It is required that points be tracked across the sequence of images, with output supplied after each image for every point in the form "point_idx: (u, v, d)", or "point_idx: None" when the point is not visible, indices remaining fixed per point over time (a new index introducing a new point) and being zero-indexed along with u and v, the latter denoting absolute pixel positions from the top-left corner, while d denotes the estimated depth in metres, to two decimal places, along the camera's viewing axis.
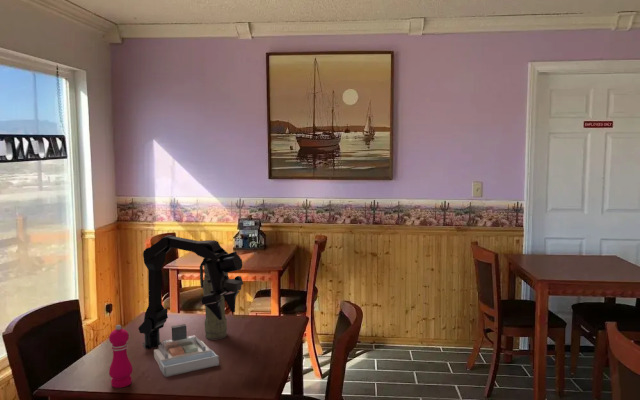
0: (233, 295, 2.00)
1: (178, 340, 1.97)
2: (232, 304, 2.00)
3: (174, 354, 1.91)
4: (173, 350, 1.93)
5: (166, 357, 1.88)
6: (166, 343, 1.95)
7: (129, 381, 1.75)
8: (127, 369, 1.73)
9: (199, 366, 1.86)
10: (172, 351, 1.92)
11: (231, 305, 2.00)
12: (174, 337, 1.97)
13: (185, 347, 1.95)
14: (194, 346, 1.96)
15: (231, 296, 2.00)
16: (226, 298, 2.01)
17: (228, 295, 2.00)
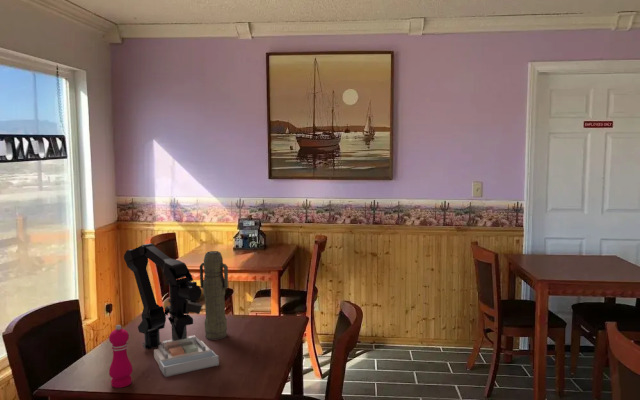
0: None
1: (178, 340, 1.97)
2: None
3: (174, 354, 1.91)
4: (173, 350, 1.93)
5: (166, 357, 1.88)
6: (166, 343, 1.95)
7: (129, 381, 1.75)
8: (127, 369, 1.73)
9: (199, 366, 1.86)
10: (172, 351, 1.92)
11: None
12: (174, 337, 1.97)
13: (185, 347, 1.95)
14: (194, 346, 1.96)
15: None
16: None
17: None
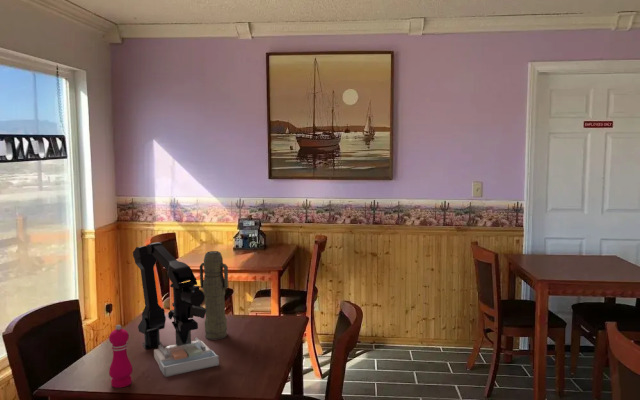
0: None
1: (182, 345, 1.92)
2: None
3: (177, 358, 1.87)
4: (176, 353, 1.89)
5: (166, 357, 1.88)
6: (170, 348, 1.90)
7: (129, 381, 1.75)
8: (127, 369, 1.73)
9: (199, 366, 1.86)
10: (175, 355, 1.88)
11: None
12: (178, 342, 1.91)
13: (188, 351, 1.92)
14: (197, 350, 1.93)
15: None
16: (177, 327, 1.93)
17: None
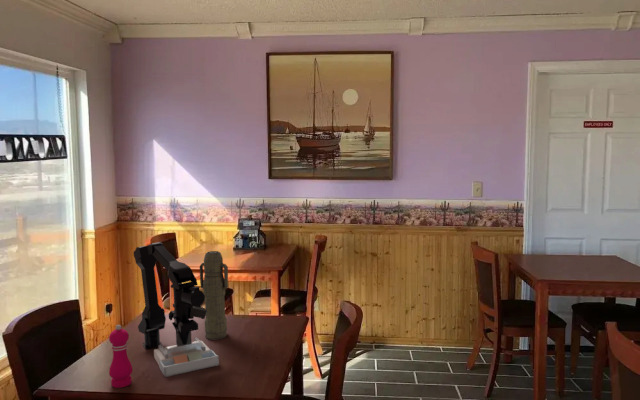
0: None
1: (183, 346, 1.92)
2: None
3: None
4: (177, 360, 1.87)
5: (166, 357, 1.88)
6: (170, 349, 1.90)
7: (129, 381, 1.75)
8: (127, 369, 1.73)
9: (199, 366, 1.86)
10: (177, 363, 1.86)
11: None
12: (178, 343, 1.91)
13: (190, 357, 1.90)
14: (199, 357, 1.91)
15: None
16: None
17: None
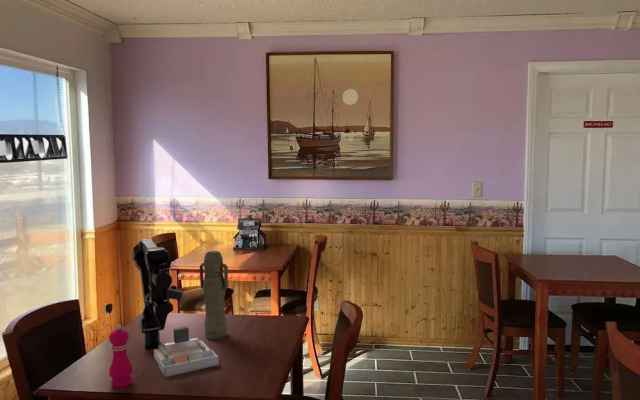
0: None
1: (180, 343, 1.95)
2: None
3: None
4: (177, 360, 1.87)
5: (166, 357, 1.88)
6: (168, 346, 1.93)
7: (129, 381, 1.75)
8: (127, 369, 1.73)
9: (199, 366, 1.86)
10: (177, 363, 1.86)
11: None
12: (176, 340, 1.94)
13: (190, 357, 1.90)
14: (199, 357, 1.91)
15: None
16: (151, 307, 1.97)
17: (154, 304, 1.98)
